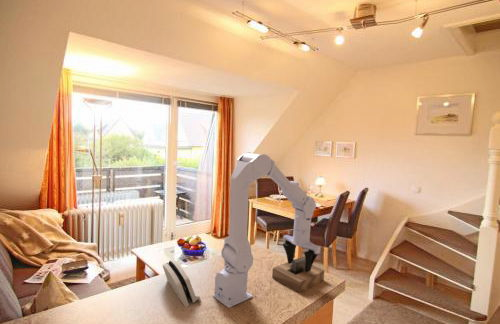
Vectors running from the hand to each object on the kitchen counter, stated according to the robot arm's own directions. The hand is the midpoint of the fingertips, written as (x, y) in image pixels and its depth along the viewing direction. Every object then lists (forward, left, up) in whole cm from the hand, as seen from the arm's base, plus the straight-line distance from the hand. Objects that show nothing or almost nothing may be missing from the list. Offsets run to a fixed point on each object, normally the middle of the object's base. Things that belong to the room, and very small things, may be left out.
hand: (298, 266), depth 97 cm
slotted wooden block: (0, 0, -4) cm, 4 cm away
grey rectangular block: (0, 0, -4) cm, 4 cm away
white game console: (-37, +17, -5) cm, 41 cm away
